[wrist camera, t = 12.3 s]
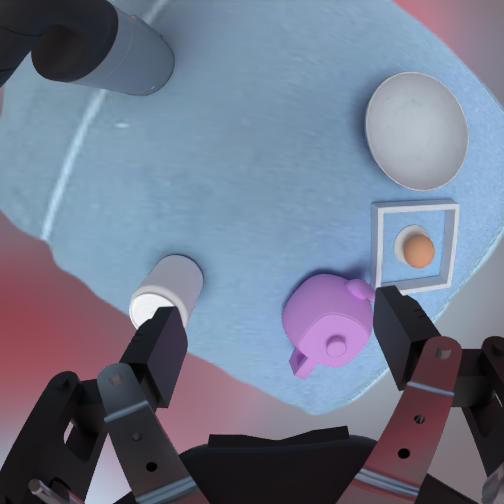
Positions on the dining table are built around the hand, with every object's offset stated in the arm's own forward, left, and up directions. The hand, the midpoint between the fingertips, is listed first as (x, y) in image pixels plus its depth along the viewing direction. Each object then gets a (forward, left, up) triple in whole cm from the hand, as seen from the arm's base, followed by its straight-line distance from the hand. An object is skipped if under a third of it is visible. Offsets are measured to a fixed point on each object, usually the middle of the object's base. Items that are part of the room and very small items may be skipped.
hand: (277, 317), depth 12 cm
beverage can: (+13, -16, -32) cm, 38 cm away
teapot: (+20, +7, -32) cm, 38 cm away
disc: (+11, +21, -32) cm, 40 cm away
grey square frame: (+11, +21, -32) cm, 40 cm away
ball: (+11, +21, -32) cm, 39 cm away
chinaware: (-7, +19, -32) cm, 38 cm away
